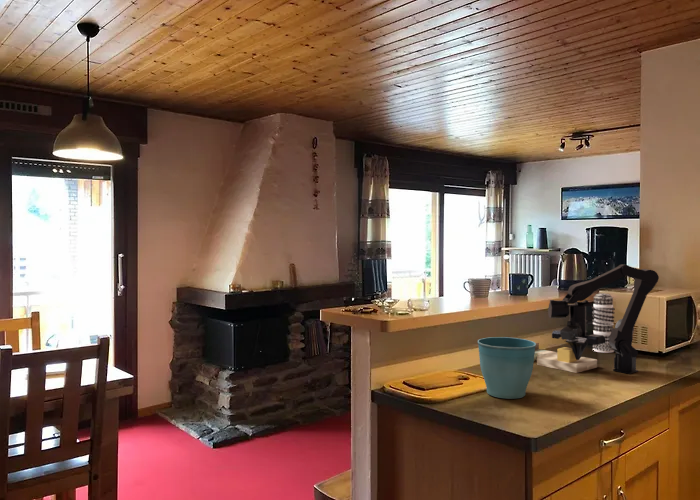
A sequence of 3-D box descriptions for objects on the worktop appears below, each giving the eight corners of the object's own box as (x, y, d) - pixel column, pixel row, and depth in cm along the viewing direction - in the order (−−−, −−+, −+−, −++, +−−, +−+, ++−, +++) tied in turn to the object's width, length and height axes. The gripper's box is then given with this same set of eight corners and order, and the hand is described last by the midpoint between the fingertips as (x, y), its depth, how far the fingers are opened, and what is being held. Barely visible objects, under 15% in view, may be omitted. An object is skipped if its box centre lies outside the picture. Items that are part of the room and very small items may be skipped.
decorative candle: (602, 353, 240) (602, 295, 240) (587, 349, 249) (587, 293, 249) (619, 352, 243) (619, 294, 243) (603, 348, 252) (603, 292, 252)
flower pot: (525, 386, 189) (525, 336, 189) (544, 402, 171) (544, 347, 171) (472, 387, 189) (472, 337, 189) (485, 403, 171) (485, 347, 171)
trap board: (597, 367, 216) (597, 353, 216) (576, 372, 208) (576, 358, 207) (536, 355, 238) (536, 342, 237) (515, 360, 229) (515, 346, 229)
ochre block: (576, 360, 214) (576, 349, 214) (569, 362, 211) (569, 350, 211) (564, 358, 218) (564, 347, 218) (557, 360, 215) (557, 348, 215)
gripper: (543, 317, 213) (543, 358, 213) (589, 323, 198) (589, 367, 198) (560, 315, 220) (560, 354, 220) (606, 320, 205) (606, 362, 205)
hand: (577, 359), depth 211 cm, fingers closed
